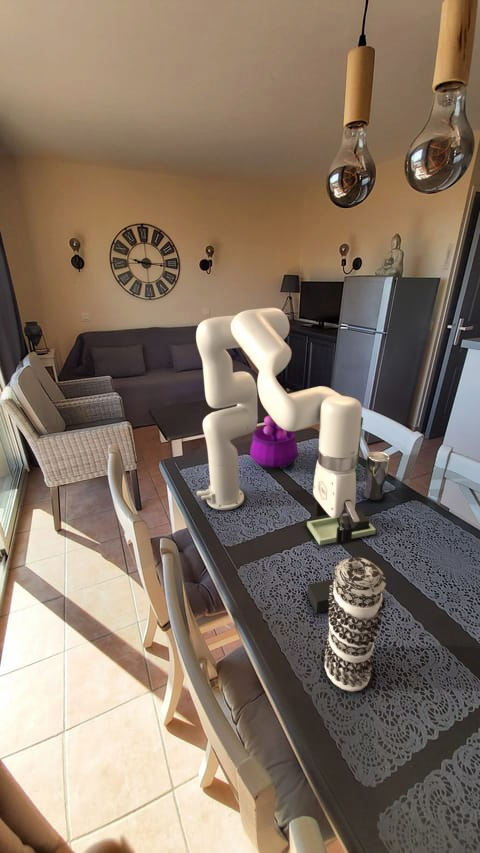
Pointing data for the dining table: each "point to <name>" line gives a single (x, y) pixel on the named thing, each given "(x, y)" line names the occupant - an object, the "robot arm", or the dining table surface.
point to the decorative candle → (353, 622)
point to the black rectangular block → (320, 595)
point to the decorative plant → (273, 445)
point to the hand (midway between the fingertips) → (332, 527)
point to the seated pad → (362, 523)
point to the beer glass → (376, 474)
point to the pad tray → (332, 530)
